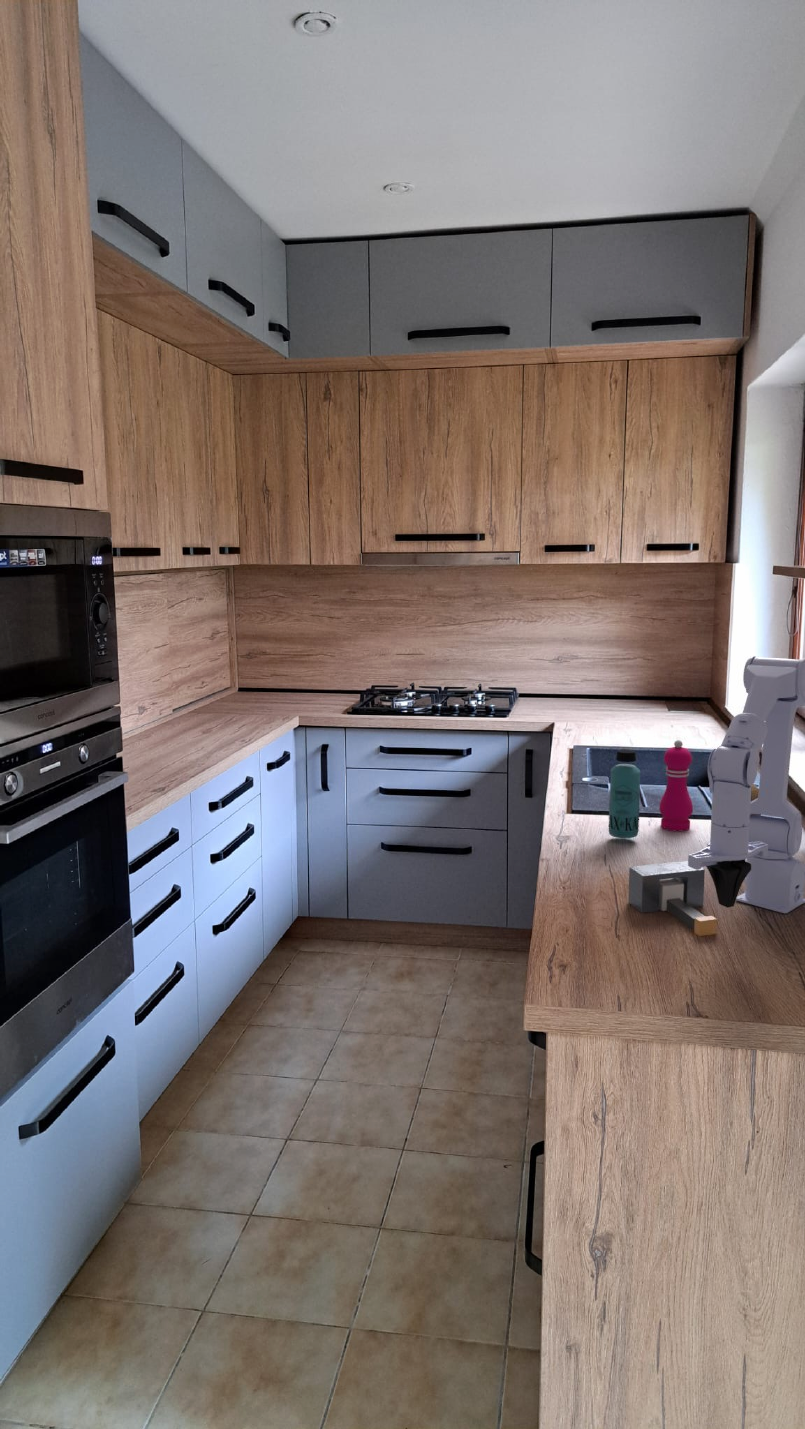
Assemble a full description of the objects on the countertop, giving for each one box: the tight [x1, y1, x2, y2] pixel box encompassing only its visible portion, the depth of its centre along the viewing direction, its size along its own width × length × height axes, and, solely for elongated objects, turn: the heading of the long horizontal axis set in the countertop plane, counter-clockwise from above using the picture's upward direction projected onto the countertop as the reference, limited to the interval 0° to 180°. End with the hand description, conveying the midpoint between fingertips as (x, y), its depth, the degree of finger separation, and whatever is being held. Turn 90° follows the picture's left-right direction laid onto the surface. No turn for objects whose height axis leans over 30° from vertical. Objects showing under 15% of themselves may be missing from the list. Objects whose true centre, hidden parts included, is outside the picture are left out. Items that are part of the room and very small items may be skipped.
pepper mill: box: [659, 739, 694, 832], centre depth 219 cm, size 7×7×20 cm
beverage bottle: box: [607, 748, 641, 839], centre depth 210 cm, size 6×7×20 cm
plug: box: [659, 878, 718, 937], centre depth 169 cm, size 16×4×4 cm, turn 14°
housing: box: [628, 860, 706, 914], centre depth 175 cm, size 5×12×7 cm, turn 104°
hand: (726, 904), depth 156 cm, fingers closed
